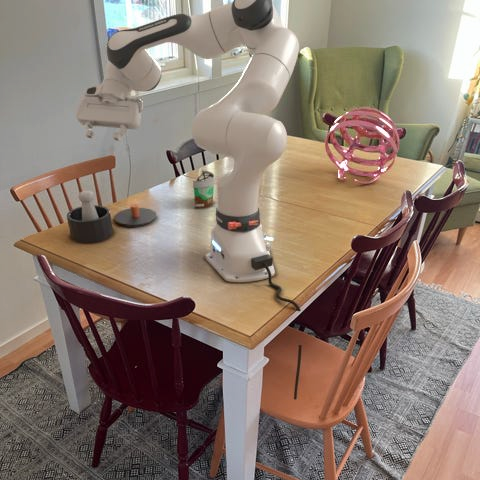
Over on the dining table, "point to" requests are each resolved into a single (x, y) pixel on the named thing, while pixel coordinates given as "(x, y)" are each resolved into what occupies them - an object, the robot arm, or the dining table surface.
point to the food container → (204, 190)
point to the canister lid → (135, 216)
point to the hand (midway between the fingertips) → (102, 138)
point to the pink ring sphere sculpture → (355, 144)
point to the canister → (90, 226)
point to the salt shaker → (88, 206)
